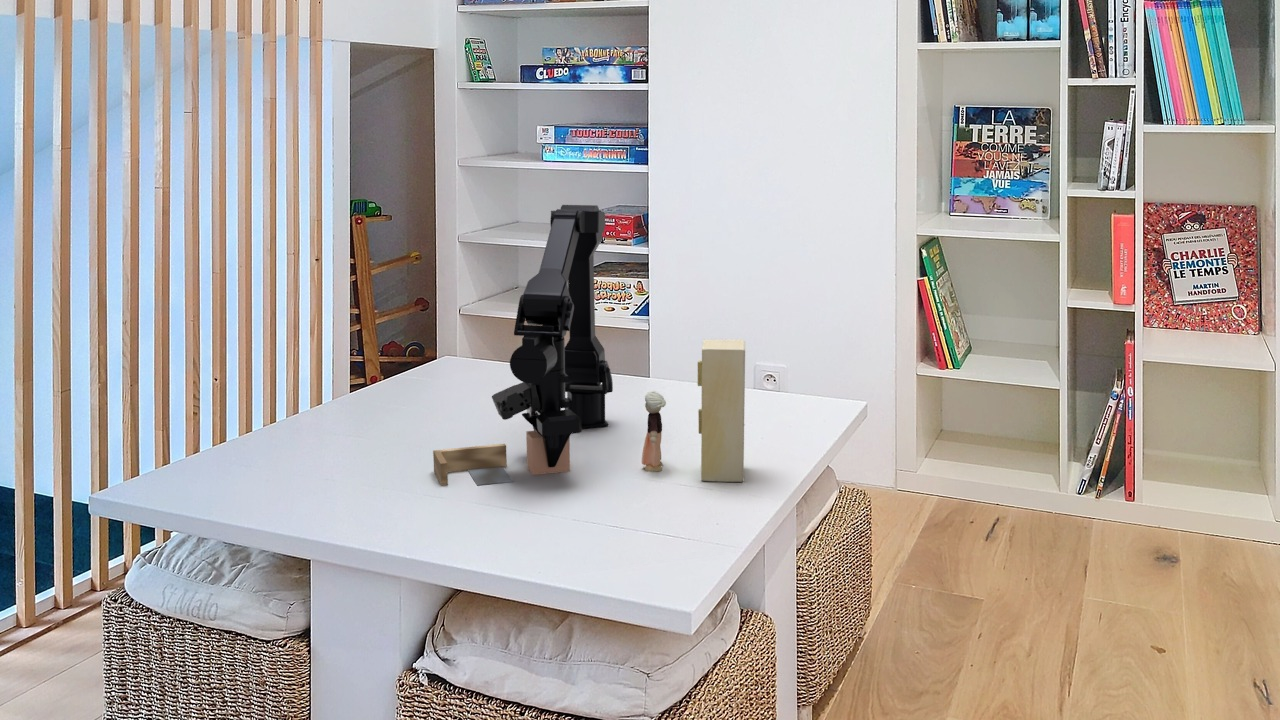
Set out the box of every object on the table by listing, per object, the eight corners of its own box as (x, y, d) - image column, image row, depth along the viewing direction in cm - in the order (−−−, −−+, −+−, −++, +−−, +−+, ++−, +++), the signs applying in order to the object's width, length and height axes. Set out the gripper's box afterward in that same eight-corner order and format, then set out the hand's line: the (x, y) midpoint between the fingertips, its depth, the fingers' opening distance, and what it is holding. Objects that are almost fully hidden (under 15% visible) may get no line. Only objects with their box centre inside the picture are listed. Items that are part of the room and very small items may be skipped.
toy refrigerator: (697, 465, 189) (699, 338, 185) (743, 466, 189) (746, 338, 184) (695, 481, 182) (697, 349, 177) (743, 483, 181) (746, 350, 176)
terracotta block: (563, 463, 190) (562, 427, 189) (569, 471, 187) (569, 434, 185) (527, 467, 188) (526, 431, 187) (533, 474, 185) (532, 438, 183)
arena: (505, 464, 190) (504, 443, 189) (517, 481, 182) (517, 459, 181) (433, 471, 186) (433, 450, 185) (443, 489, 178) (442, 467, 177)
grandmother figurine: (639, 461, 192) (639, 385, 189) (662, 460, 192) (663, 385, 189) (643, 476, 184) (643, 398, 181) (668, 475, 184) (668, 397, 181)
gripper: (483, 358, 190) (486, 451, 193) (509, 385, 173) (511, 486, 176) (550, 353, 193) (552, 444, 197) (582, 379, 176) (583, 479, 180)
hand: (548, 462), depth 187 cm, fingers closed on terracotta block, 4 cm apart
